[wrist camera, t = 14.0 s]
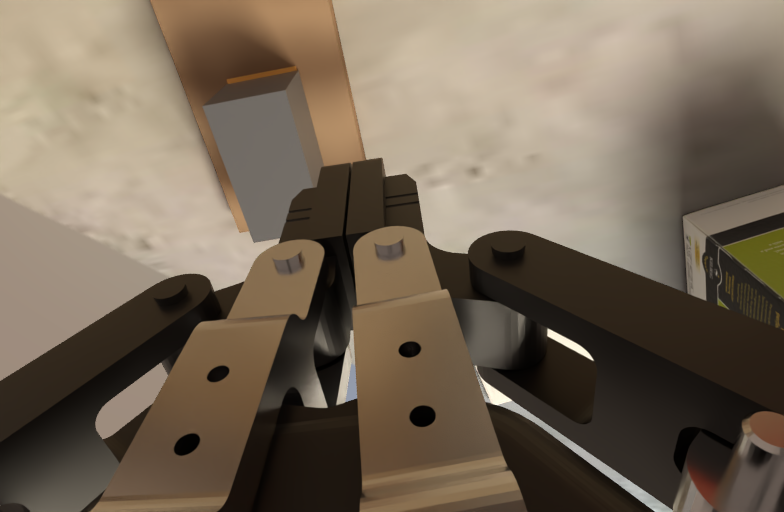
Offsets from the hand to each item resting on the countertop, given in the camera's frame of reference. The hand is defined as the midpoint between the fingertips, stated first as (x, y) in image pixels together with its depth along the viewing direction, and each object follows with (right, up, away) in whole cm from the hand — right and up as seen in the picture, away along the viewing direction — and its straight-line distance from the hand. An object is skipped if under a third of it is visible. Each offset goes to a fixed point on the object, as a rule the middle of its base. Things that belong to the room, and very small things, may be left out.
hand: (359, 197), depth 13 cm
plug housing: (-6, +6, +21) cm, 23 cm away
